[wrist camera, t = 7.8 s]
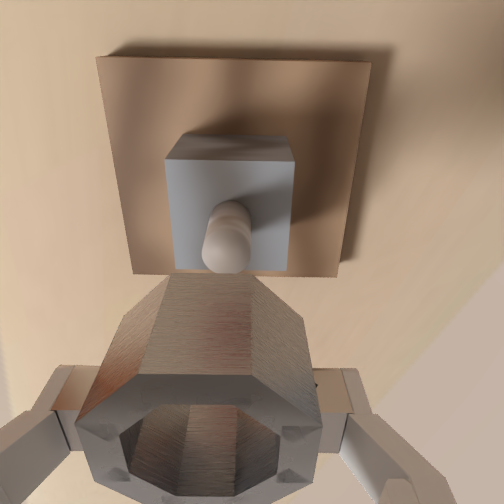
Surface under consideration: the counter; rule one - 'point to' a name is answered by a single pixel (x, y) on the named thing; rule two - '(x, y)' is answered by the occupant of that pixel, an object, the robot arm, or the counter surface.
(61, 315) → the counter surface
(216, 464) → the collar
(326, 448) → the robot arm
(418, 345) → the counter surface
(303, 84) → the post stand
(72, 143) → the counter surface
